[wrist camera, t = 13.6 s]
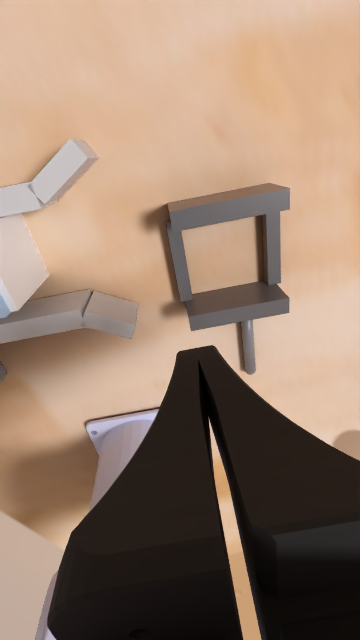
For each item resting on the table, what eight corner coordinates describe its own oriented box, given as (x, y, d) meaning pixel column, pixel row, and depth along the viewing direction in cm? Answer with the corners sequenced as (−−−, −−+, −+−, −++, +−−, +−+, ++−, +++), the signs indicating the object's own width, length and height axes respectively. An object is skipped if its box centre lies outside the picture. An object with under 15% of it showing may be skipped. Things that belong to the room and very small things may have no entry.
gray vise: (277, 364, 24) (293, 391, 21) (195, 379, 24) (200, 407, 21) (274, 182, 17) (295, 186, 15) (162, 204, 17) (163, 213, 15)
